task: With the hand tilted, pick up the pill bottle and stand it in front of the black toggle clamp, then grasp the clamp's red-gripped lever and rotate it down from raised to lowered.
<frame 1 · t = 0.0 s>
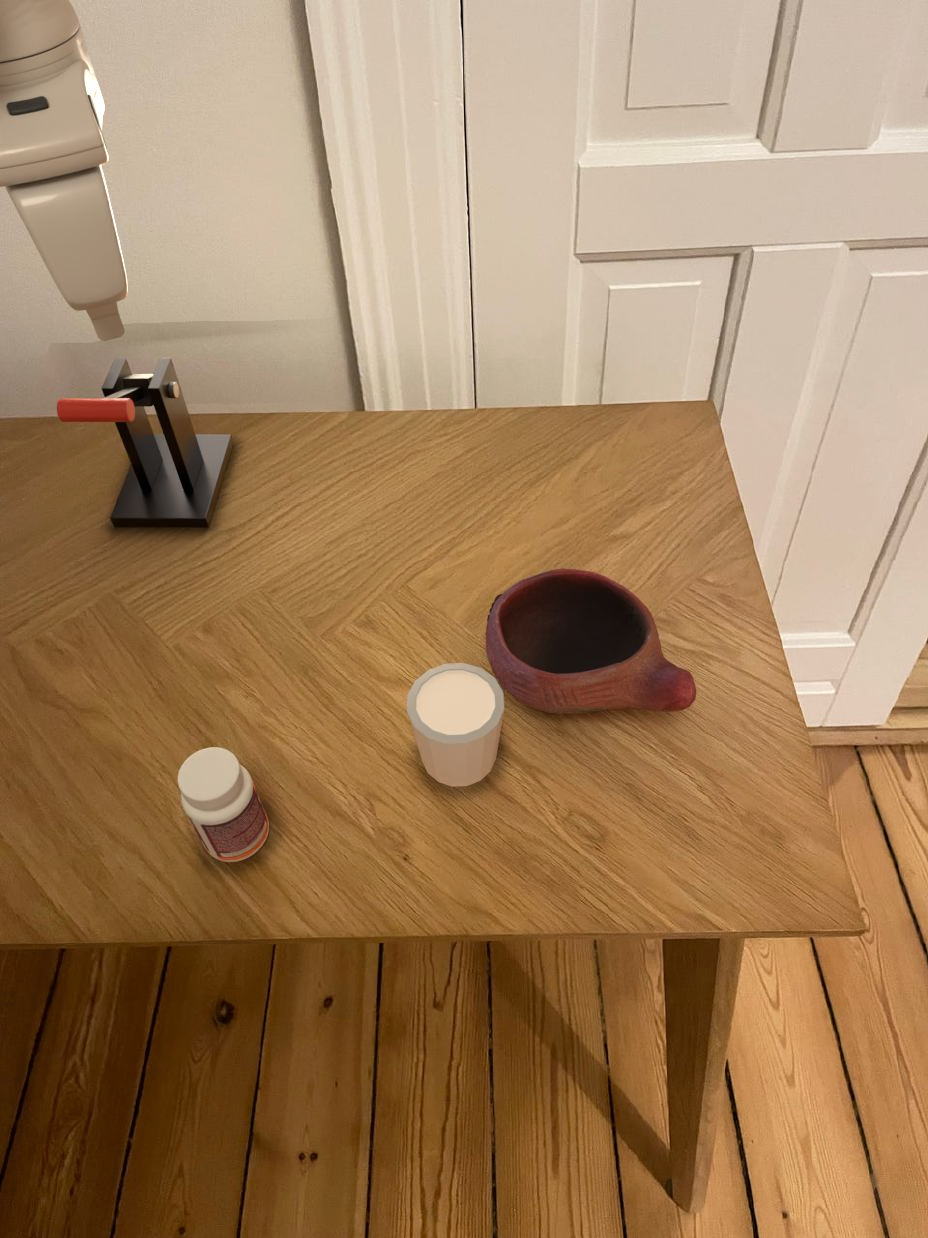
hand: (97, 299, 66), 25 cm above the table, tool pointing down, fingers open, 8 cm apart
bowl: (585, 679, 75), on the table
clamp lever: (122, 398, 78), point 13 cm above the table, hinge at 28.0°
pill bottle: (237, 834, 67), on the table
clamp: (176, 483, 91), on the table
shot glass: (458, 755, 71), on the table
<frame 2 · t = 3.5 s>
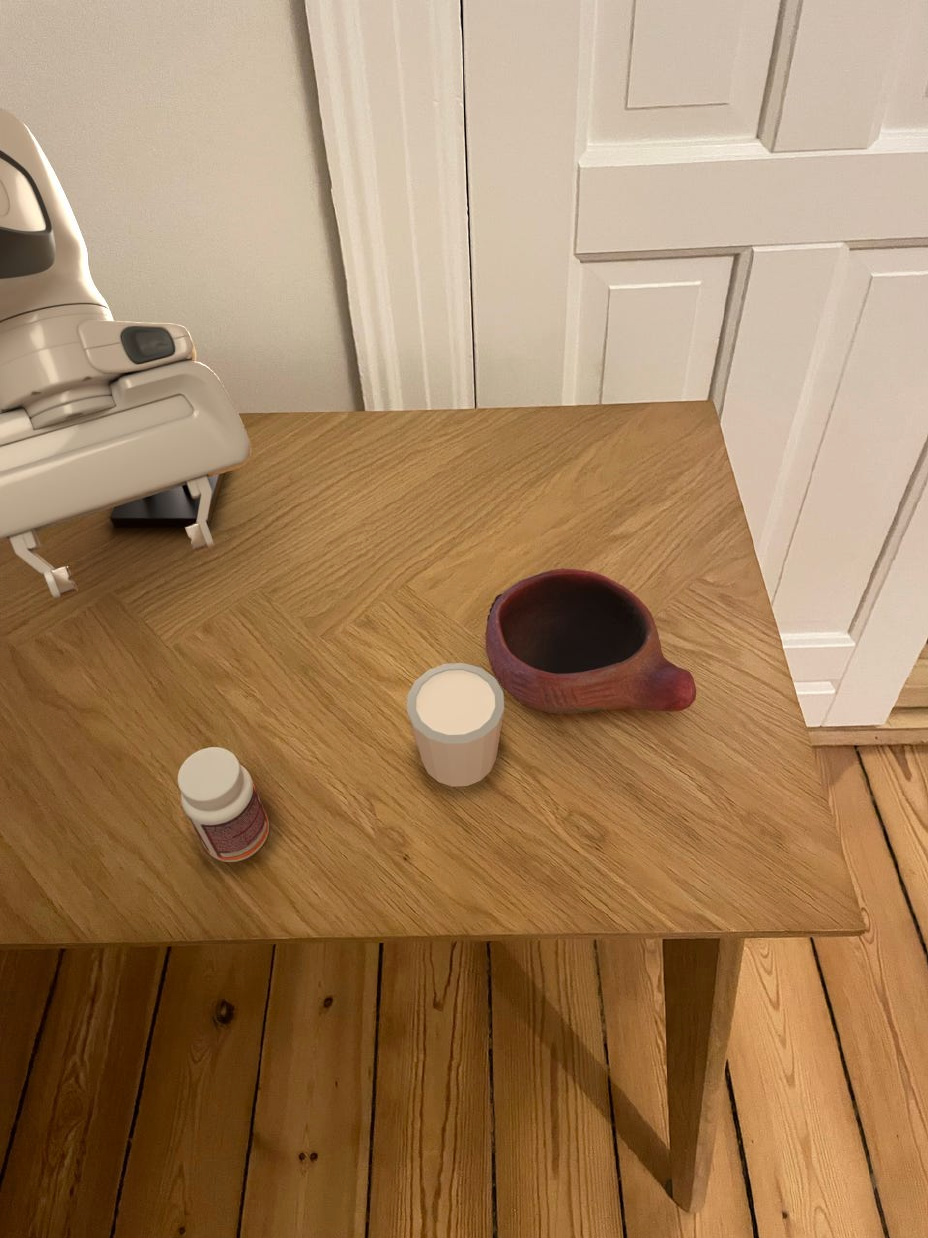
hand: (136, 571, 64), 15 cm above the table, tool tilted 45°, fingers open, 8 cm apart
nothing on the table moved.
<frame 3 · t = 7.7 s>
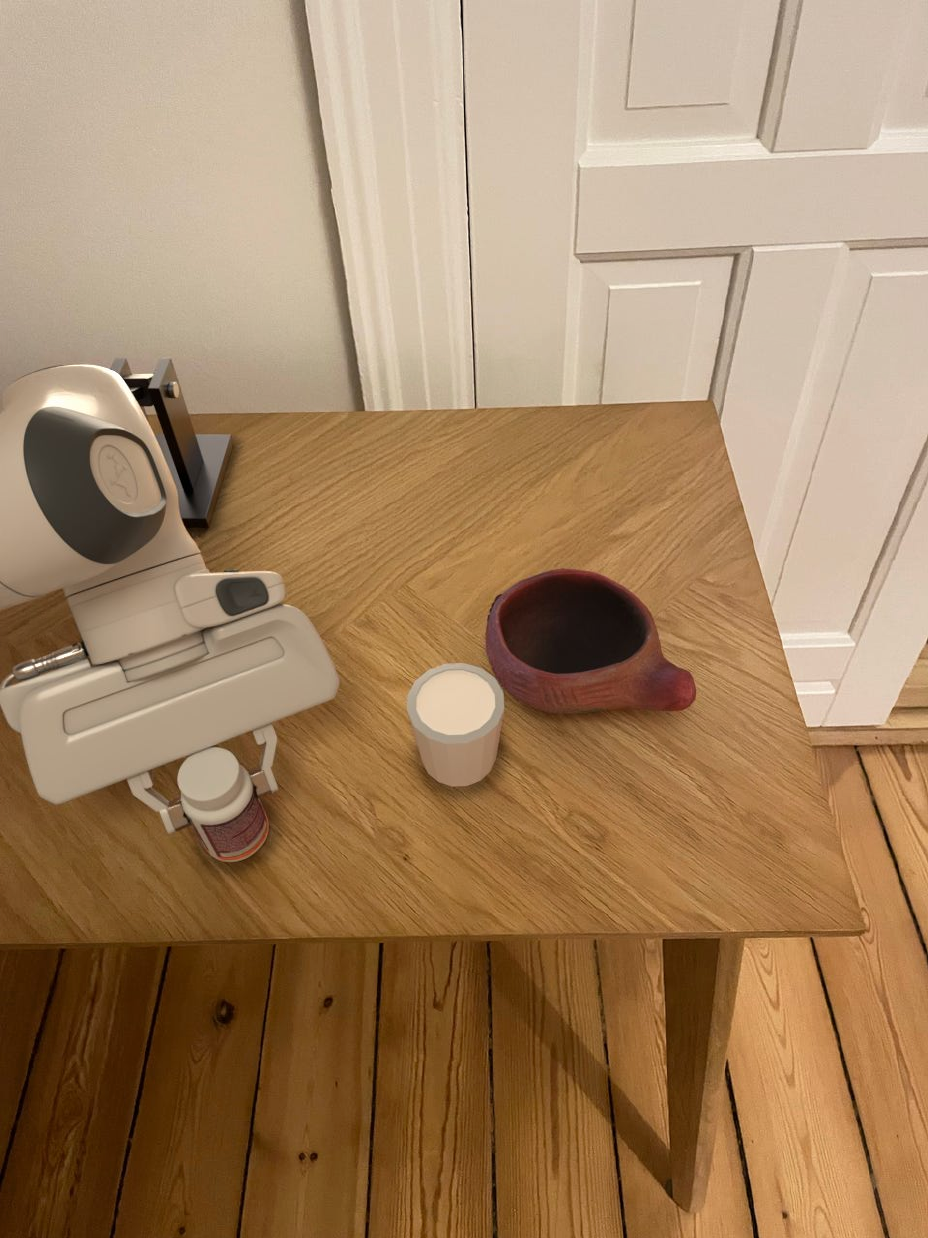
hand: (225, 810, 63), 4 cm above the table, tool tilted 45°, fingers closed on pill bottle, 5 cm apart
pill bottle: (236, 834, 67), on the table, touching gripper
everything else where it was.
when the fingers open (4 cm above the table, at t = 16.5 s): pill bottle stays where it is, on the table.
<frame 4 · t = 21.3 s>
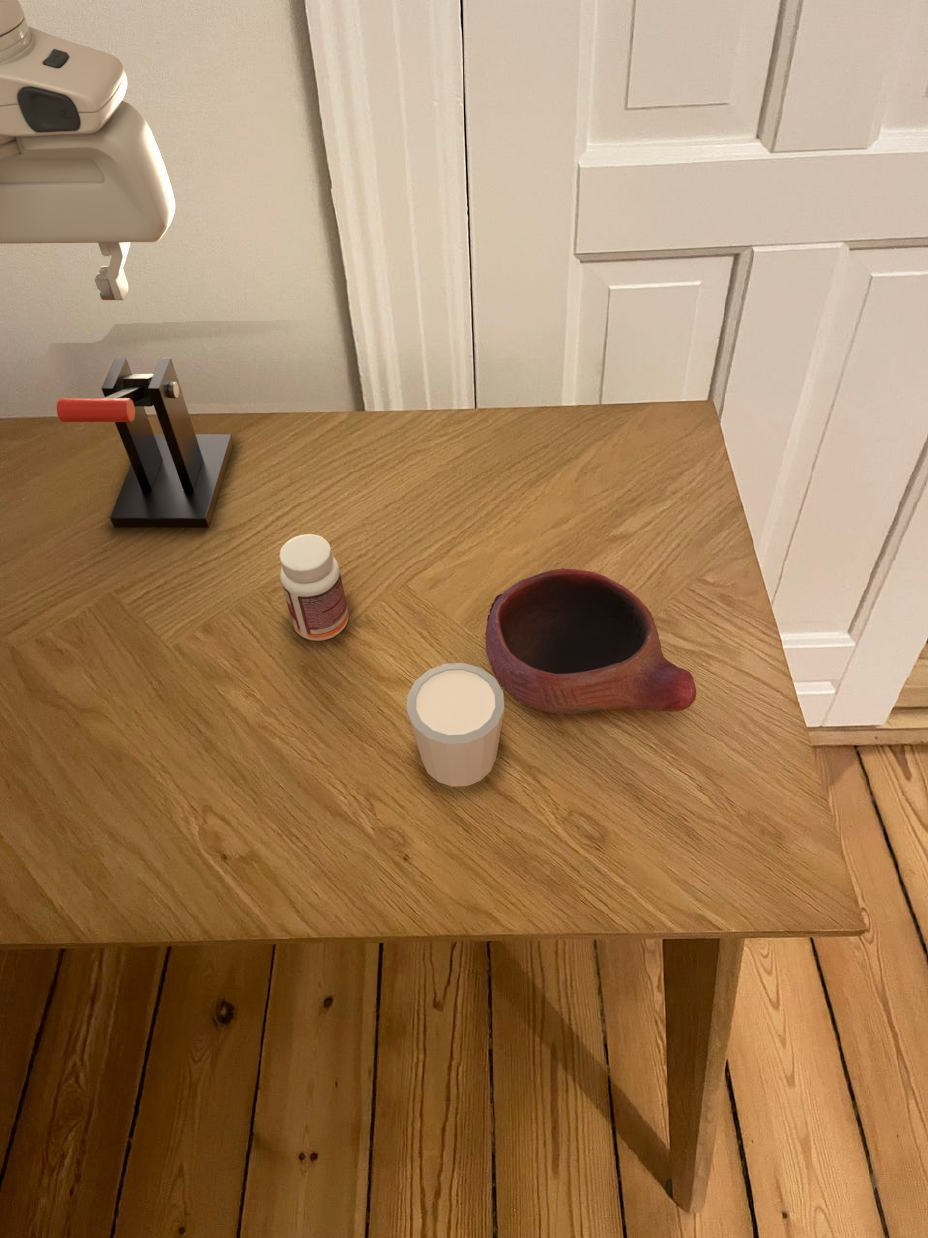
hand: (49, 296, 66), 25 cm above the table, tool pointing down, fingers open, 8 cm apart
pill bottle: (321, 621, 79), on the table
everything else where it was.
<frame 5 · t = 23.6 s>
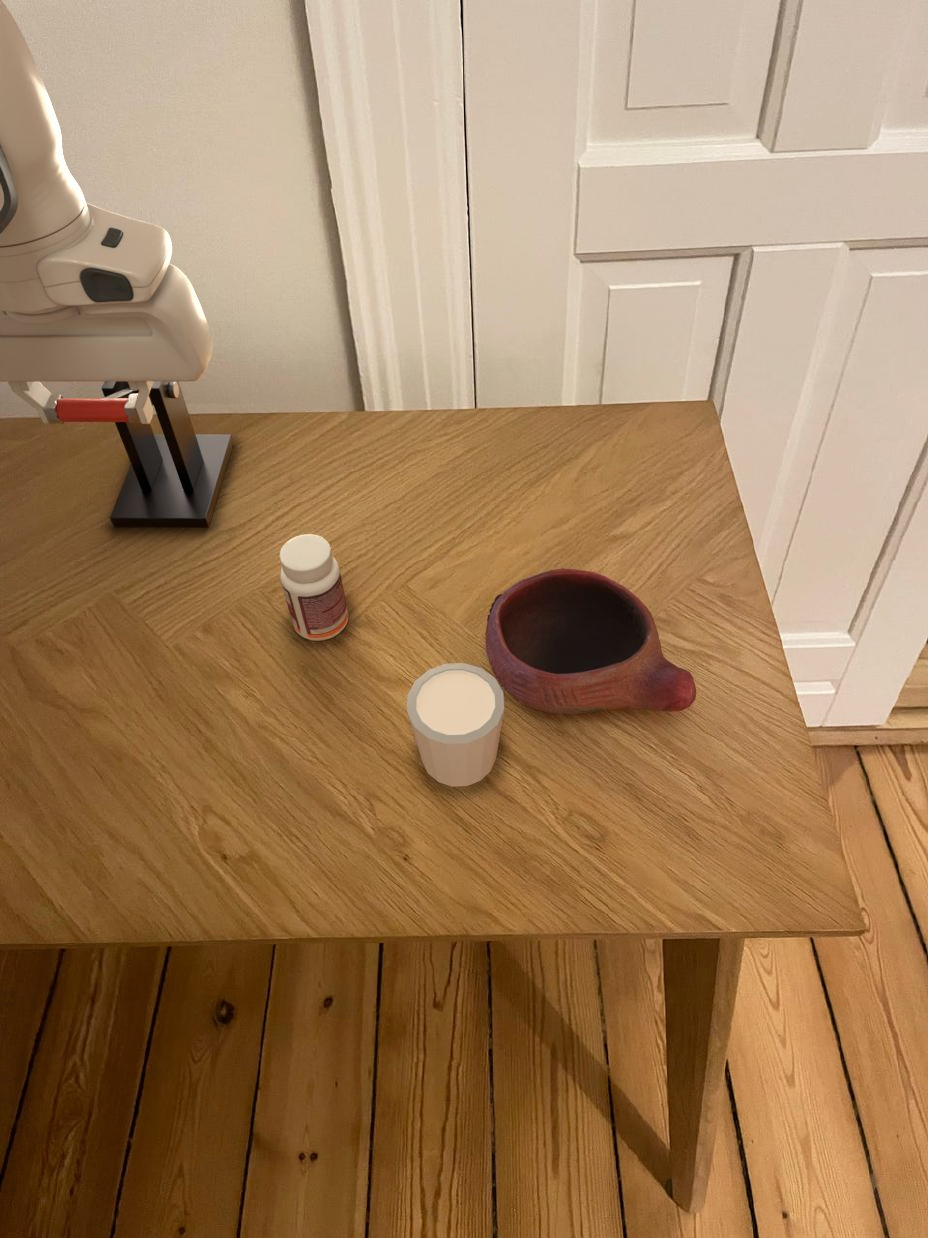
hand: (100, 419, 74), 15 cm above the table, tool pointing down, fingers closed on clamp lever, 5 cm apart
clamp lever: (122, 398, 78), point 13 cm above the table, hinge at 28.0°, touching gripper
everything else where it was.
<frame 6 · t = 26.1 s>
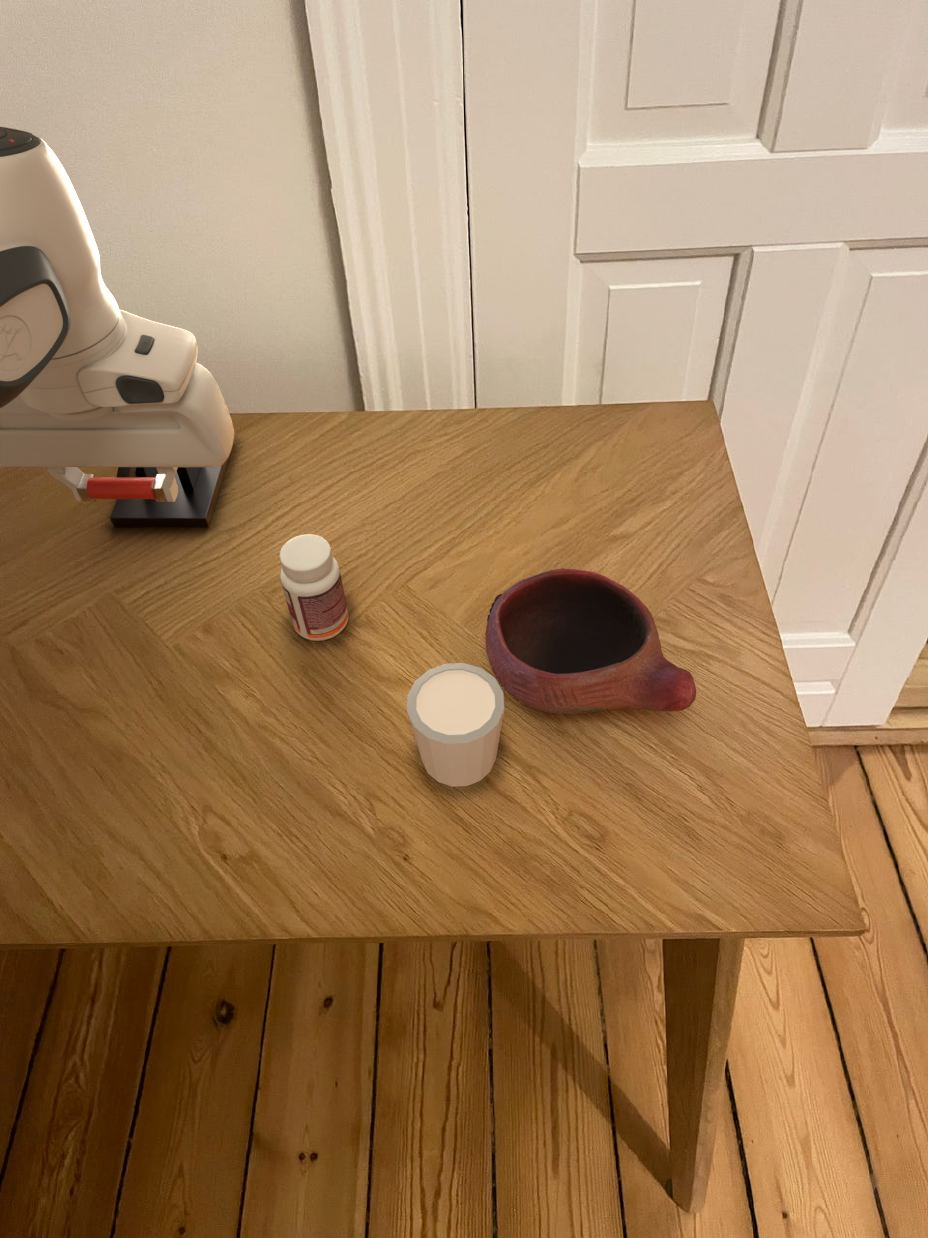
hand: (129, 496, 80), 7 cm above the table, tool pointing down, fingers closed on clamp lever, 5 cm apart
clamp lever: (133, 435, 80), point 10 cm above the table, hinge at -16.1°, touching gripper
everything else where it was.
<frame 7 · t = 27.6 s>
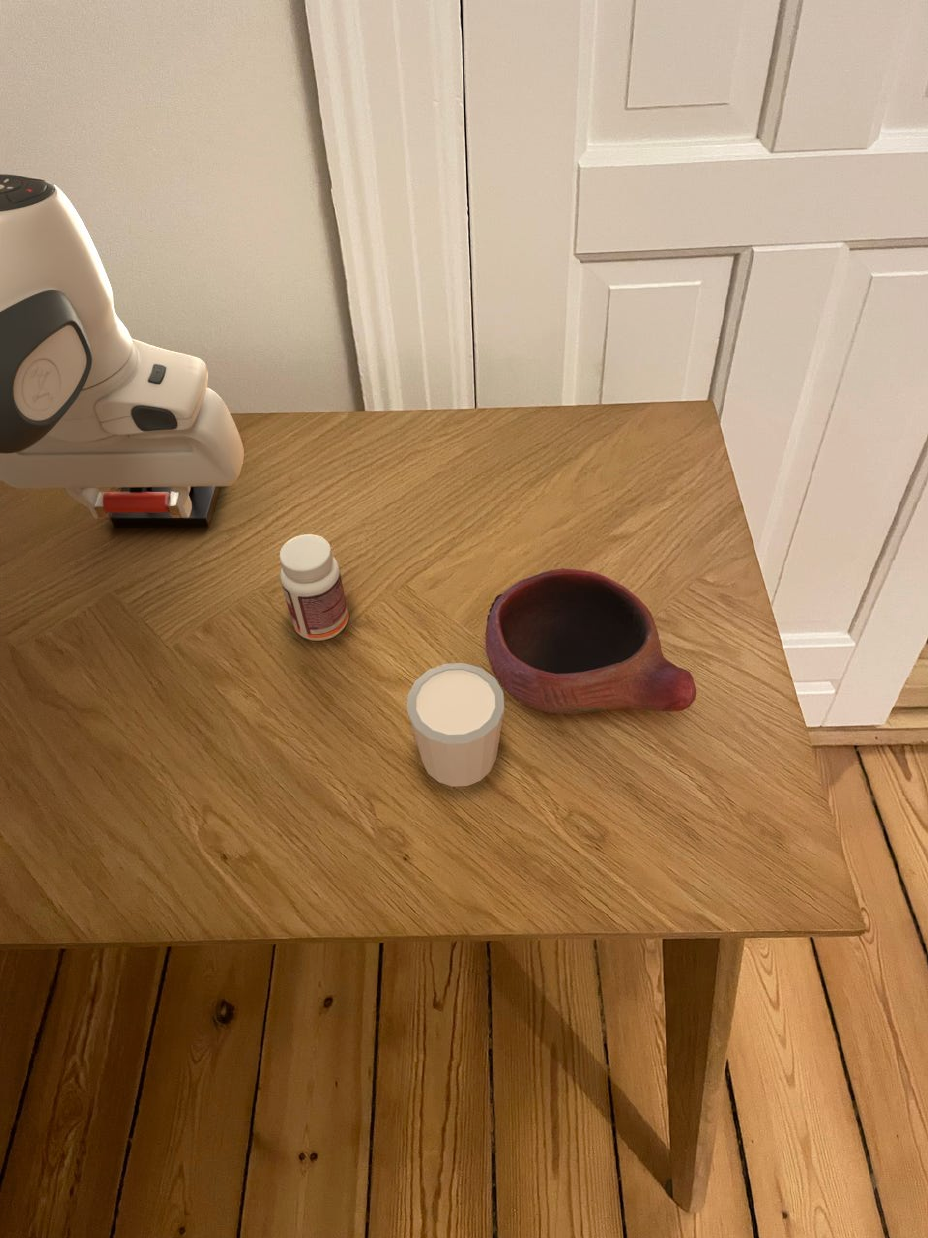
hand: (144, 513, 83), 4 cm above the table, tool pointing down, fingers closed on clamp lever, 5 cm apart
clamp lever: (140, 442, 82), point 8 cm above the table, hinge at -34.4°, touching gripper
everything else where it was.
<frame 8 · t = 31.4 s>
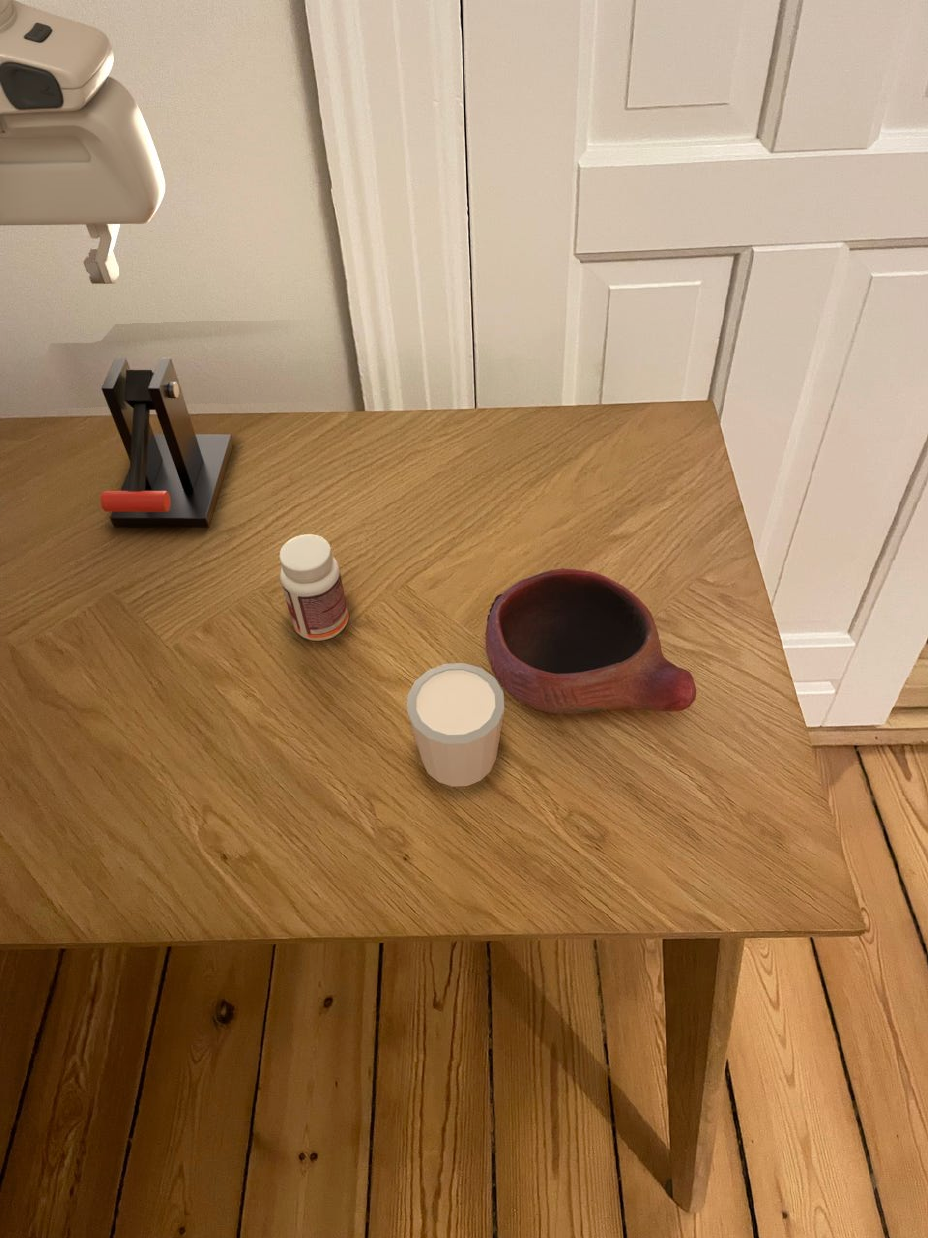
hand: (38, 280, 64), 27 cm above the table, tool pointing down, fingers open, 8 cm apart
clamp lever: (139, 442, 82), point 8 cm above the table, hinge at -32.5°
everything else where it was.
at the end: clamp lever at -32° (first picture: +28°); pill bottle inside the target area on the table beside the clamp (0.0 cm from its centre), on the table; pill bottle tilted 0° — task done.
